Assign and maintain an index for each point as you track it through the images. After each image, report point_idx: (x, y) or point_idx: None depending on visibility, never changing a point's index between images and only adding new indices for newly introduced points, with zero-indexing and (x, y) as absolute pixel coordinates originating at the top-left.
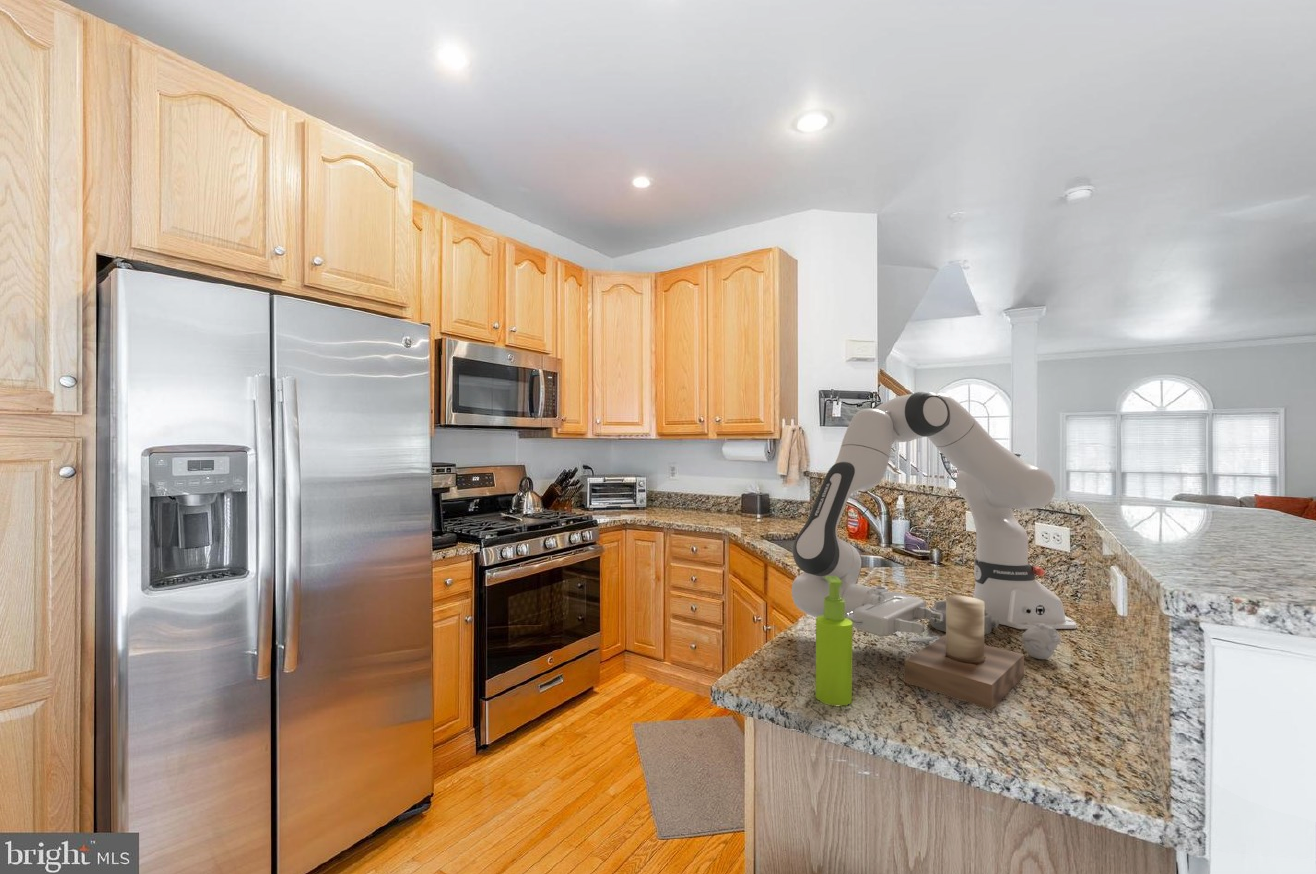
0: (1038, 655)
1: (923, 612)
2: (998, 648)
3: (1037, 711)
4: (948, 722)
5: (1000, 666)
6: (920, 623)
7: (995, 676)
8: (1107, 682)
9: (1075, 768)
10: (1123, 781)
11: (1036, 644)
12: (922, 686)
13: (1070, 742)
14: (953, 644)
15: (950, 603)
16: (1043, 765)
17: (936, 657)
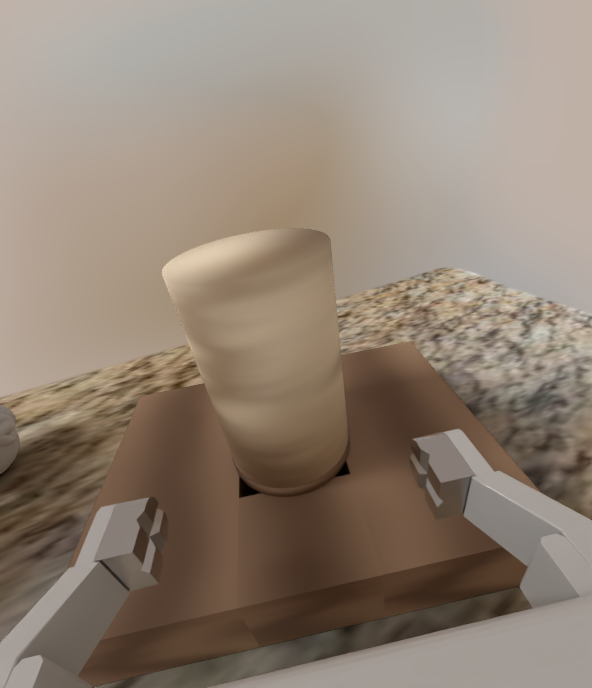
0: (16, 451)
1: (62, 672)
2: (124, 440)
3: None
4: (556, 384)
5: None
6: (442, 438)
7: (355, 357)
8: (106, 372)
9: (447, 298)
10: (419, 284)
11: (8, 428)
12: None
13: (389, 317)
14: (345, 405)
15: (327, 263)
16: (484, 304)
17: (390, 481)
